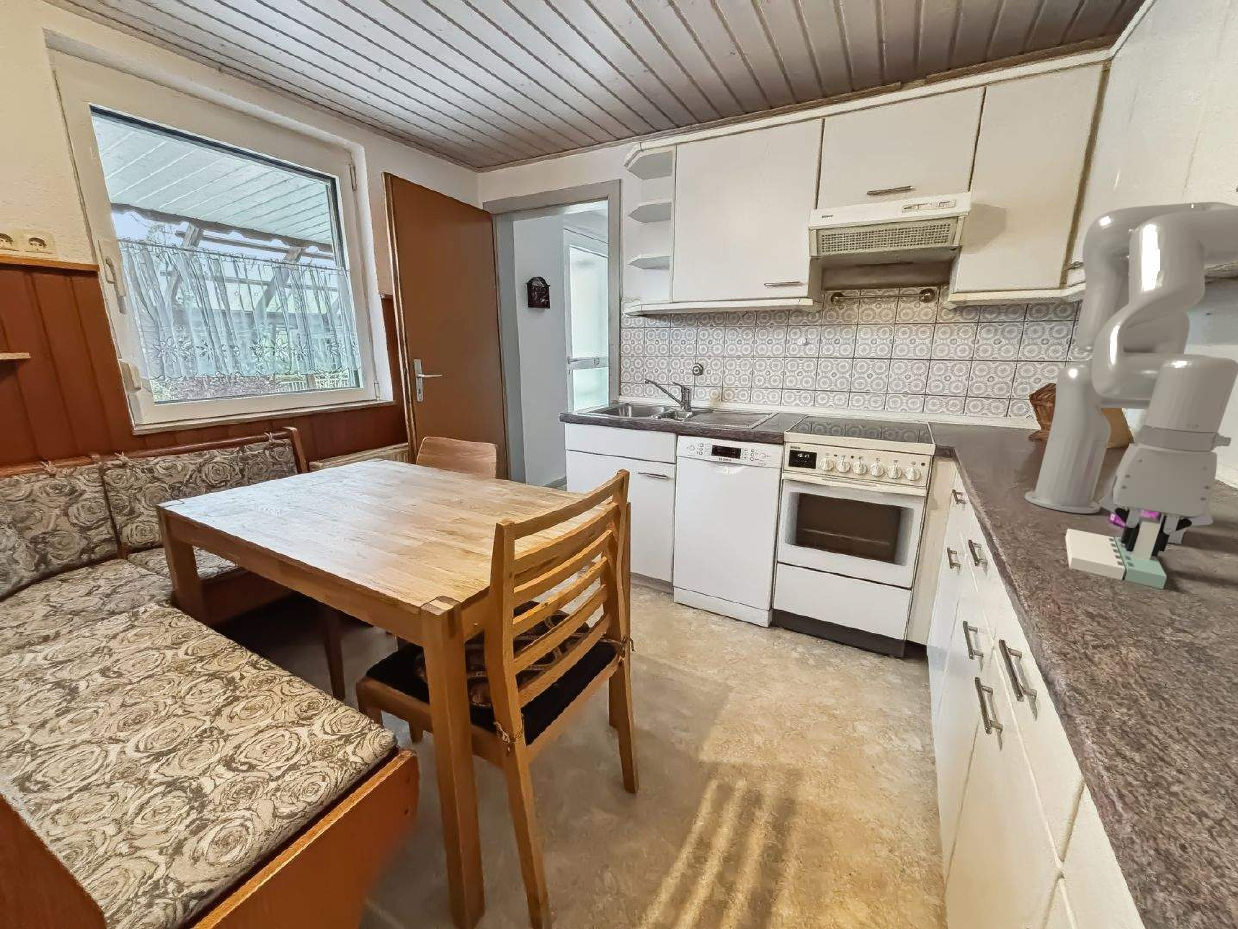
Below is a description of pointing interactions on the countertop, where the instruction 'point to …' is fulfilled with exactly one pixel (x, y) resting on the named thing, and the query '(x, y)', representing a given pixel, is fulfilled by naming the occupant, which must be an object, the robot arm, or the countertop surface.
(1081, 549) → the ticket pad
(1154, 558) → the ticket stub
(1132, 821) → the countertop surface
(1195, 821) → the countertop surface
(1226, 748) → the countertop surface
